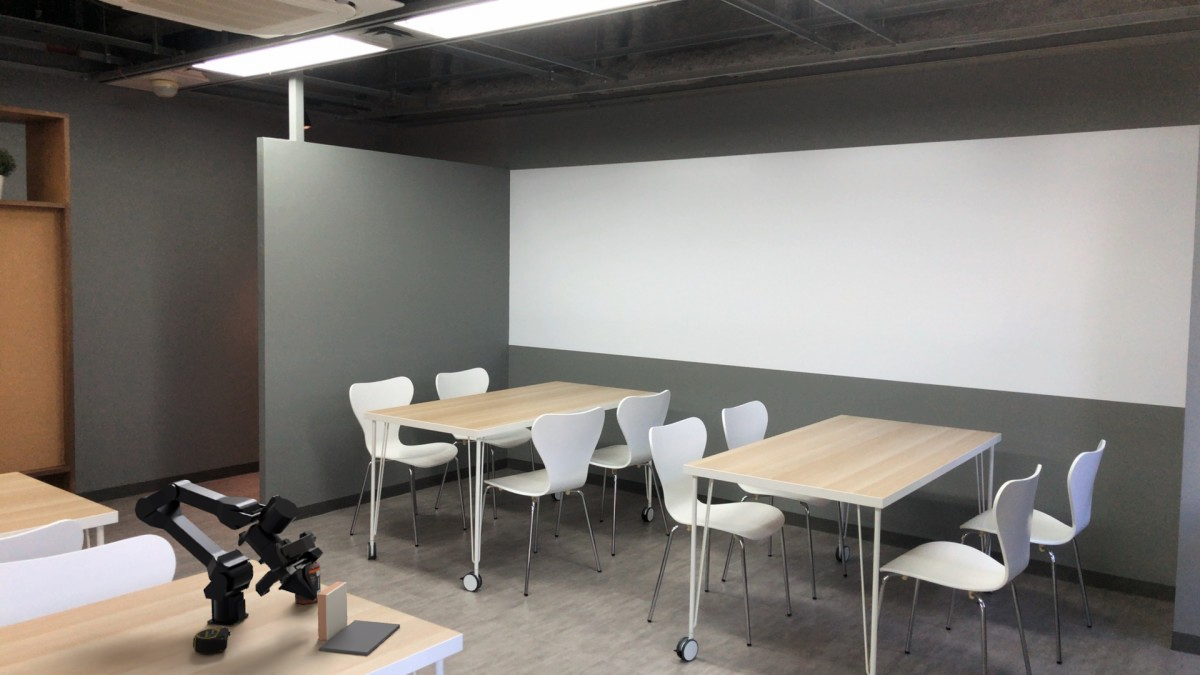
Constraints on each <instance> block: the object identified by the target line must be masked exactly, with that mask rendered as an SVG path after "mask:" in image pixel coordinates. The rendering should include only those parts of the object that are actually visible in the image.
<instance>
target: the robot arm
mask: <svg viewBox="0 0 1200 675" xmlns="http://www.w3.org/2000/svg"><path fill="white" fill-rule="evenodd" d="M182 503H183V504H185V505H187V506H190V507H192V508H195V509H197V510H201V511H202V512H206V513H208V514H210V515H213V516H214V517H216V518H217V520H218V521H219V523H220V524H222V525H223V526H224V527H226V528H228V529H230V530H234V531H238V530H241V529H244V528H245V527H248V526H249V528H247V530H244V531H241V532H239V533H238V540H237V546H238V547H241V546H244V545H245V544H247V545H249V547H250V548H251V549H252V550H253V551H254V552H255V553H256V555H258V557H259V558H260V559H259V560H258V561H257V563H259V565H260V566H262V565H263V564H265V565H266V566H267V567H268V569H269V570H268V571H266V573H265V574H264V575H263V576H262V577H261V578H260V579H259V580H258V581H257V583H255V586H254V587H255V592H256V593H257V594H258V596H260V597H262V598H263V597H264V596H266V595H267V594H269V592H270V591H271V588H272V587H273V585H274V584H276V583H277V582H279V583H280V584H281V585H280V586H279V587H278V588H277V591H281V590H282V591H284V592H289V593H292V594H294V595H295V594H297V595H299V596H302V597H305V598H307V599H310V600H312V601H313V600H315V599H316V598H317V594H316V591H315V589H314V586H313V584H312V581H311V578H310V575H309V570H310V567H311V566H312V565H313V564H314V563H315V562H316V561H317V562H318V560H319V559H320V558H321V557H322V556H323V555H324V552H323V550H322V549H320V547H319V546H316V544H315V543H316V542H317V536H316V535H315V534H314V533H313V532H312V531H310V529H307V530H305V531H303V532H300V533H299V536H298V537H299V538H298V539H295V540H293V541H291V540H290V539H288V538H284V539H282V537H280V536H279V535H281V534H282V533H283V532H284V531H285V530H286V529H287V528H288V527H289V526H290V524H292V522H293V521H294V520H295V519H296V518H297V517H298V515H299V509H298V507H297V505H296V504H295V502H292V501H291V500H289V499H287V498H282V496H281V495H280V494H277V495H274V496H271V498H270V499H269V500H268V502H267V504H262V503H260V502H259V501H258V500H256V499H254V498H251V497H250V498H249V497H245V496H229V495H228V496H227V495H224V494H221V493H219V492H217V491H214V490H212V489H209V488H206V487H204V486H203V487H202V486H201V485H198V484H196V483H192V482H191V481H190V480H189V479H188V480H187V479H181V480H177V481H173V482H170V483H169V484H167V485H166V486H165V487H163V488H162V489H161V488H160V489H159V490H158V491H156V492H154V493H152V494H149V495H146V496H143V497H140V498H139V499H137V501H136V504H135V507H134V513H135V516H136V517H137V519H138V520H139V521H141V522H143V524H145V525H147V526H148V527H152V528H156V529H158V530H159V529H160V530H163V531H165V532H166V533H167V534H168V535H169V536H170V537H172V538H173V539H174V540H175V541H176V542H177V543H178V544H179V545H180V546H182V547H183V548H184V549H185V550H186V551H187V552H188V553H190V554H191V555H192V556H193V557H194V558H195V559H196V560H198V562H200V563H201V564H202V565H203V566H204V567H205V568H206V571H207V572H206V573H207V577H208V580H209V581H210V582H209V583H208V584H207V585H206V586H205V587H204V588H203V590H202V591H203V594H204V597H205V599H206V600H211V604H210V607H211V618H210V619H208V620H207V621H206V624H207V625H217V626H218V625H219V626H227V627H228V626H229V627H232V626H235V625H236V624H237V623H239V622H240V621H242V620H244V619H246V618H247V617H249V613H248V612H247V610H246V607H247V605H246V599H245V594H244V593H245V592H244V591H245V590H248V589H249V588H250V585H251V582H252V581H253V578H254V565H253V564H252V563H251V562H250V557H247V556H245V555H244V554H243V552H242V551H241V550H239V549H238V548H235V549H233V550H230V551H226V550H224V549H222V548H221V547H220V546H219V545H218V544H217V543H215V541H213V540H212V539H211V538H210V537H208V535H206V534H205V533H204V532H203V531H202V530H201V529H200V528H199V527H197V526H196V525H195V524H194V523H193V522H192V521H191V520H189V519H188V518H187V517H186V516H185V515H184V514H183V512H182V508H181V507H182V506H181V504H182Z"/></svg>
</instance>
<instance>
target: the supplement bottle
mask: <svg viewBox="0 0 1200 675" xmlns="http://www.w3.org/2000/svg"><path fill="white" fill-rule="evenodd" d="M309 575H310V578H311V581H312V584H313V586H314V589H315V591H316V594H318V593H320V592H321V591H322V590H321V564H320V562H319V561H318V560H317V561H316V562H315V563H314V564H313V565H312V566H311V567H310V570H309ZM294 600H295V602H296V603H297V604H299V605H309V604H313V603H317V602H318V595H317V598H316V599H315V600H313V601H312V600H310V599H307V598H305V597H302V596H299V595H297V594H294Z"/></svg>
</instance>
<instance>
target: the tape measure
mask: <svg viewBox="0 0 1200 675" xmlns="http://www.w3.org/2000/svg"><path fill="white" fill-rule="evenodd" d="M229 636H231V630H229V628H228V627H225V626H224V627H221V628H217V627H216V628H207V629H202V630H200V631H198V632H197V633H195V635H194V637H193V639H192V640H193V641H192V647H193V649H194V651H195V653H198V654H201V655H211V654H214V653H218V652H222V651H225V650H226V649H227V648H228V641H229Z"/></svg>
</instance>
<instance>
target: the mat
mask: <svg viewBox="0 0 1200 675" xmlns="http://www.w3.org/2000/svg"><path fill="white" fill-rule="evenodd" d="M400 627H401V624H400V623H388V622H381V621H371V620H370V621H368V620H360V619H359V620H358V619H355V620H353V621H352V622H350V623H349V624H347V627H345V628H344V629H343V630H341V631H340V632H339V633H337V634H336V635H335V636H334V637H332V638H331V639H330V640H326V641H325V643H323V644H322V645H320V646H319V647H318V650H319V651H324V652H333V653H344V654H352V655H361V656H368V655H370V653H372V652H373V651H374V650H375V649H376V648H378V646H380V644H382V643H383V642H384V641H386V640H387V638H389V637H390V636H391V635H392V634H394V633H395V632H396V631H397V630H398V629H399V628H400Z"/></svg>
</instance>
